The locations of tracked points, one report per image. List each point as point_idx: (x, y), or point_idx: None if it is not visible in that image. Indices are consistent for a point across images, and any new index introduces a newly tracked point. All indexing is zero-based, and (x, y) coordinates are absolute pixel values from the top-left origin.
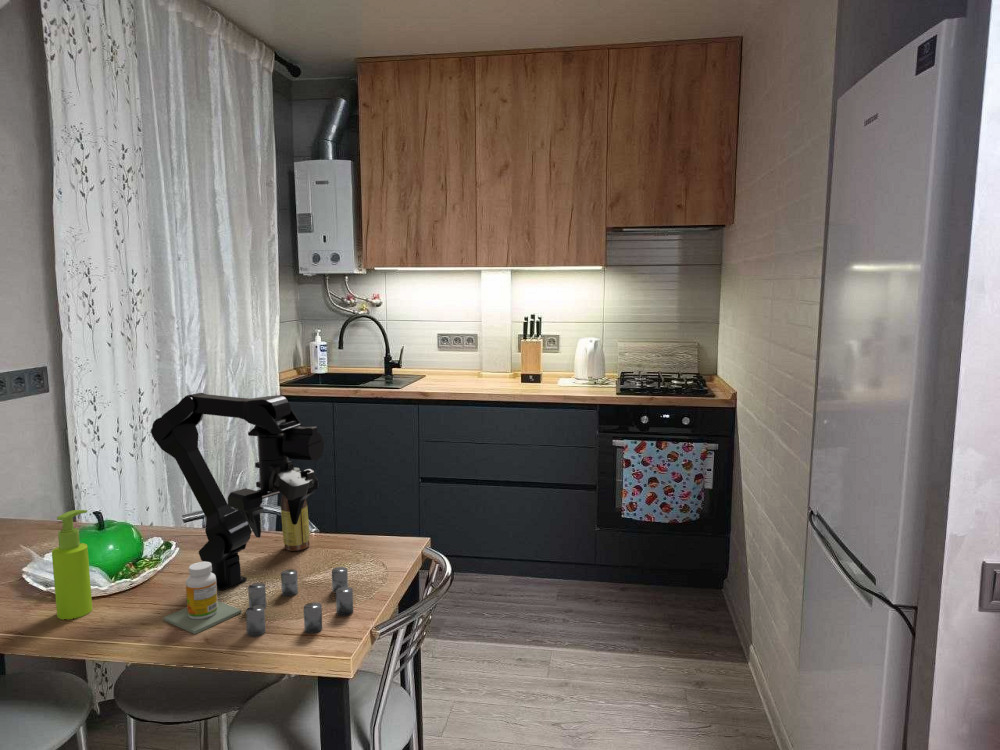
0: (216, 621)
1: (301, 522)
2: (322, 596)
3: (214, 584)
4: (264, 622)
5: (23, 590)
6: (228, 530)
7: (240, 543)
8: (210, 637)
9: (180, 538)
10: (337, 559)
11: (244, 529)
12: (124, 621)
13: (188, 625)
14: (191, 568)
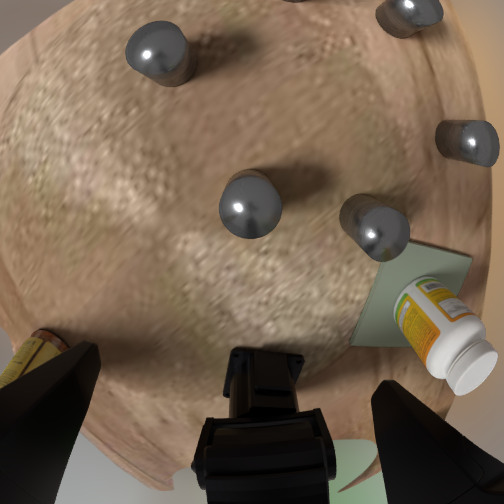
0: (442, 250)
1: (20, 376)
2: (228, 85)
3: (458, 314)
4: (459, 120)
5: (352, 482)
6: (325, 481)
7: (265, 432)
8: (474, 220)
9: (164, 479)
10: (31, 226)
11: (239, 469)
12: (428, 380)
13: (457, 286)
14: (489, 373)
